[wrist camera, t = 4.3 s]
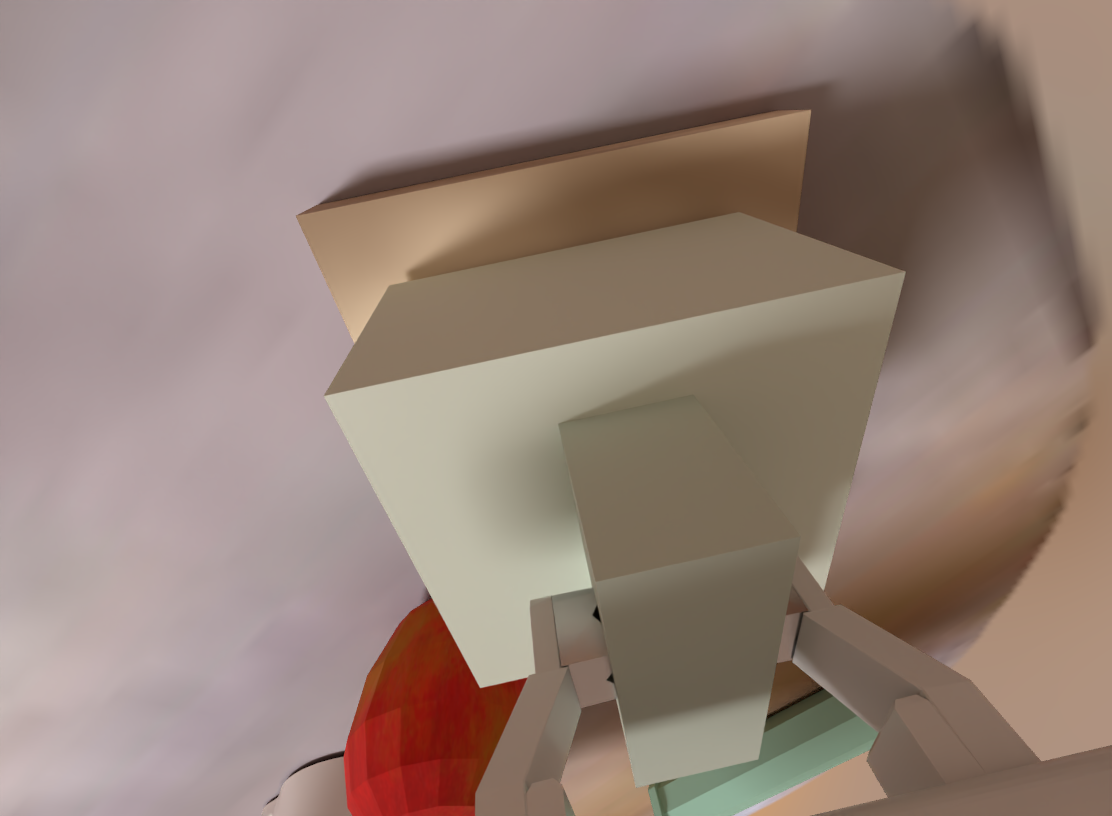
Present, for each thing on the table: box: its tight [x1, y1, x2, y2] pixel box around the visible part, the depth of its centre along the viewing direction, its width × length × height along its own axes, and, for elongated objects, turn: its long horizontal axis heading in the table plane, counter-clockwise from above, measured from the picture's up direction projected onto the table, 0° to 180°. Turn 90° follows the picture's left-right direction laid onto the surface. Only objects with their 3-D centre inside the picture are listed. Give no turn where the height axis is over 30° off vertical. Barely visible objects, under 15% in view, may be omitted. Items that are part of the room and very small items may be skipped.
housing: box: [324, 212, 906, 788], centre depth 13 cm, size 12×12×11 cm
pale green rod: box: [648, 689, 878, 816], centre depth 42 cm, size 6×6×25 cm
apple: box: [344, 598, 528, 816], centre depth 23 cm, size 9×9×12 cm
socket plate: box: [296, 110, 811, 344], centre depth 18 cm, size 16×16×4 cm
